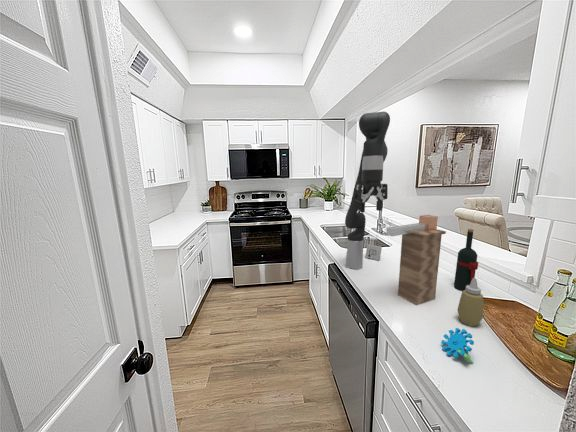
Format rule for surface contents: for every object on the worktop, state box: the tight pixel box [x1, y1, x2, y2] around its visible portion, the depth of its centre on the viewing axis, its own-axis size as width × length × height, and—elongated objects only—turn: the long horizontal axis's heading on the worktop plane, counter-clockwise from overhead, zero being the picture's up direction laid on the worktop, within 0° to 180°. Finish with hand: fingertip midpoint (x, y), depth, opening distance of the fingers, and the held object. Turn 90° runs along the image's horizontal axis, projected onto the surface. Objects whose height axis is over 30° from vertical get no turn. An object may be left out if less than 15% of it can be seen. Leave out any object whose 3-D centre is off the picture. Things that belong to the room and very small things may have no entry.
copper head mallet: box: [385, 214, 439, 237], centre depth 107 cm, size 26×5×6 cm, turn 114°
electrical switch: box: [364, 243, 382, 262], centre depth 165 cm, size 9×5×9 cm, turn 50°
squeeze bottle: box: [456, 277, 484, 327], centre depth 95 cm, size 8×8×18 cm
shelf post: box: [397, 228, 447, 306], centre depth 113 cm, size 14×12×32 cm
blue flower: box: [440, 327, 475, 365], centre depth 80 cm, size 11×6×10 cm
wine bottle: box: [453, 228, 479, 292], centre depth 119 cm, size 8×10×30 cm
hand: (370, 211), depth 97 cm, fingers open, 8 cm apart
